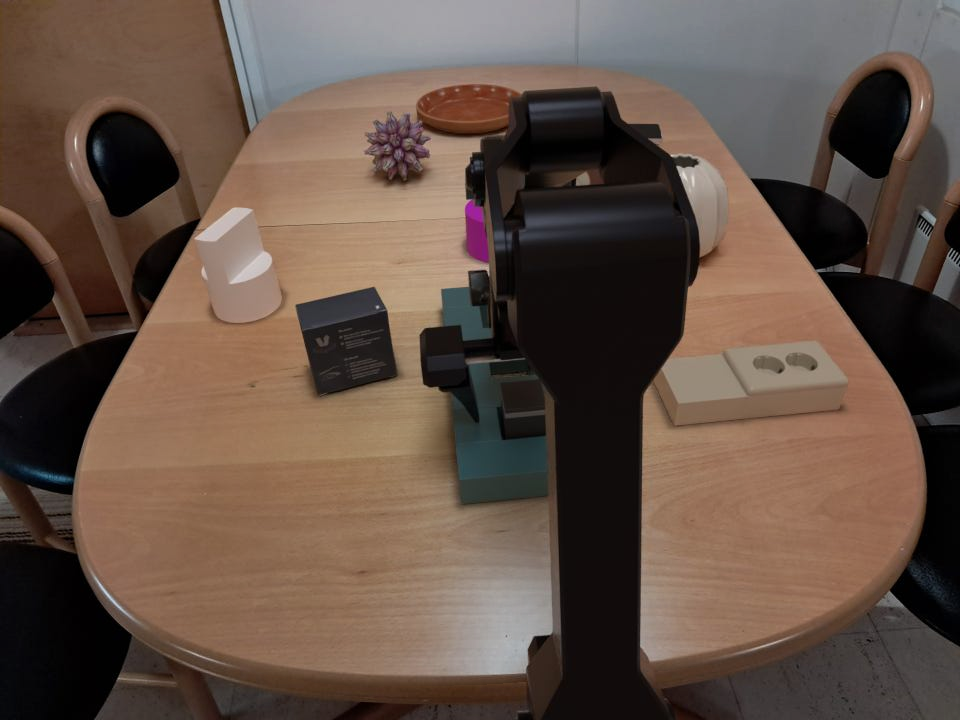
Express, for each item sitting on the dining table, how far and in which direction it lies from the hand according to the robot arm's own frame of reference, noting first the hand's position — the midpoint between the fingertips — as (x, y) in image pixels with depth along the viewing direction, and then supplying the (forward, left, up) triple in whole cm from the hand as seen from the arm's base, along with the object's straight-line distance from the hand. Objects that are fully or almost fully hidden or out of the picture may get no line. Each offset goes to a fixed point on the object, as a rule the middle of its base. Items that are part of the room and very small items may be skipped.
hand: (523, 415), depth 68 cm
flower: (+69, +12, -4) cm, 70 cm away
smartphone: (+80, -31, -4) cm, 86 cm away
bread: (+57, -16, -4) cm, 60 cm away
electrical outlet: (+4, -25, -4) cm, 26 cm away
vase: (+36, -27, -4) cm, 45 cm away
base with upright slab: (+31, +33, -4) cm, 46 cm away
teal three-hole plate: (+9, 0, -4) cm, 10 cm away
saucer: (+96, -3, -4) cm, 96 cm away
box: (+14, +18, -4) cm, 23 cm away
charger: (0, 0, -4) cm, 4 cm away
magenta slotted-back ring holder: (+44, -3, -4) cm, 45 cm away
